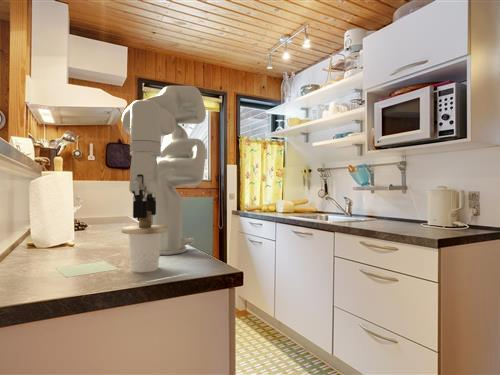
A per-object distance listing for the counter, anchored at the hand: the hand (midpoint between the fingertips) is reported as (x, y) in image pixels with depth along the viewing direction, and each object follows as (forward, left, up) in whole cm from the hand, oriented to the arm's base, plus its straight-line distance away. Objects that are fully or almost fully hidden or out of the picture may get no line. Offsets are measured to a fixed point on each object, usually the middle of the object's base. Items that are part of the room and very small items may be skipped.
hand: (145, 216), depth 80 cm
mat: (+11, -10, -14) cm, 20 cm away
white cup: (0, 0, -14) cm, 14 cm away
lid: (0, 0, -4) cm, 4 cm away
